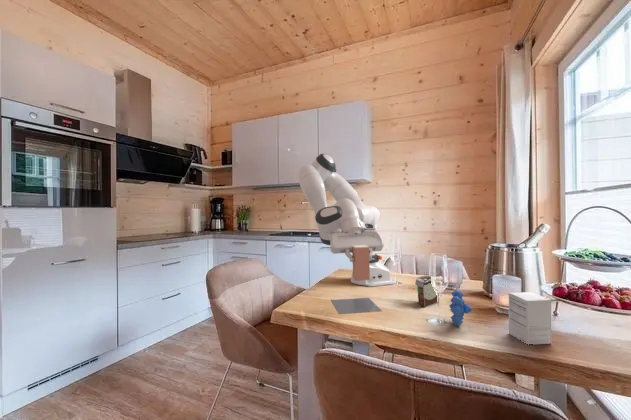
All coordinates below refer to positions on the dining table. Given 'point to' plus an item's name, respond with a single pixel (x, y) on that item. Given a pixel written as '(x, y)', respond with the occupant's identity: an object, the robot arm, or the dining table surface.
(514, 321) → the white drawer cabinet
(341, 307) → the slate board
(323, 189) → the robot arm
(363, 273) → the block
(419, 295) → the food container
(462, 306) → the grapes
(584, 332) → the dining table surface
